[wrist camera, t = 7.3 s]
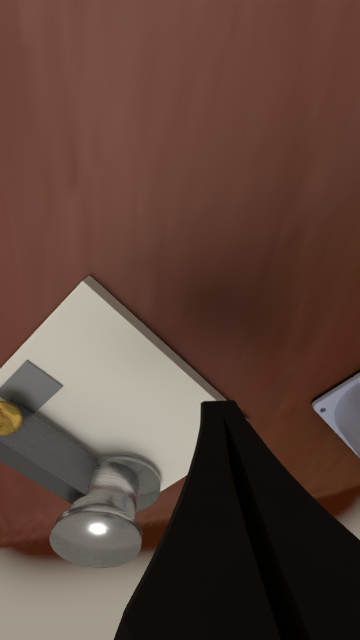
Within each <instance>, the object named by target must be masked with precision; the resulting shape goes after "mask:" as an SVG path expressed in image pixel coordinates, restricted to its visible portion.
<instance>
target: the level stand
mask: <svg viewBox="0 0 360 640" xmlns="http://www.w3.org/2000/svg"><path fill="white" fill-rule="evenodd" d="M11 399H12V400H14V401H15V402H17V403H18V404H20V405H21V406H23V407H24V408H25V409H27V410H28V411H30V412H31V413H33V414H34V415H35V416H37V417H38V418H40V419H41V420H43V421H44V422H45V423H47V424H48V425H50V426H51V427H53V428H54V429H55V430H57V431H58V432H60V433H61V434H63V435H64V436H66V437H67V438H68V439H70V440H71V441H73V442H74V443H76V444H77V445H78V446H80V447H81V448H83V449H84V450H86V451H87V452H88V453H90V454H91V455H93V456H94V457H98V456H102V455H128V456H133V457H137V458H139V459H142V460H144V461H146V462H148V463H149V464H150V465H152V466H153V467H154V468H155V469H156V470H157V472H158V474H159V476H160V479H161V488H160V492H161V491H162V490H164V489H166V488H167V487H169V486H170V485H172V484H173V483H175V482H177V481H178V480H180V479H181V478H183V477H184V476H186V475H187V474H188V471H189V468H190V465H191V461H192V458H193V454H194V451H195V447H196V443H197V438H198V433H199V428H200V410H201V403H202V402H203V401H227V400H226V399H225V398H224V397H223V396H222V395H221V394H220V393H219V392H217V391H216V390H215V389H214V388H213V387H212V386H211V385H210V384H209V383H208V382H206V381H205V380H204V379H203V378H202V377H201V376H200V375H199V374H198V373H197V372H196V371H194V370H193V369H192V368H191V367H190V366H189V365H188V364H187V363H186V362H185V361H183V360H182V359H181V358H180V357H179V356H178V355H177V354H176V353H175V352H174V351H172V350H171V349H170V348H169V347H168V346H167V345H166V344H165V343H164V342H163V341H162V340H160V339H159V338H158V337H157V336H156V335H155V334H154V333H153V332H152V331H151V330H149V329H148V328H147V327H146V326H145V325H144V324H143V323H142V322H141V321H140V320H138V319H137V318H136V317H135V316H134V315H133V314H132V313H131V312H130V311H129V310H128V309H126V308H125V307H124V306H123V305H122V304H121V303H120V302H119V301H118V300H117V299H115V298H114V297H113V296H112V295H111V294H110V293H109V292H108V291H107V290H106V289H105V288H103V287H102V286H101V285H100V284H99V283H98V282H97V281H96V280H95V279H94V278H92V277H91V276H88V277H87V278H86V279H84V280H83V281H82V282H81V283H80V284H79V285H78V286H77V287H76V288H75V289H74V290H73V292H72V293H71V294H70V295H69V296H68V297H67V298H66V299H65V300H64V301H63V302H62V303H61V304H60V305H59V307H58V308H57V309H56V310H55V311H54V312H53V313H52V314H51V315H50V316H49V317H48V318H47V319H46V320H45V322H44V323H43V324H42V325H41V326H40V327H39V328H38V329H37V330H36V331H35V332H34V333H33V334H32V335H31V337H30V338H29V339H28V340H27V341H26V342H25V343H24V344H23V345H22V346H21V347H20V348H19V349H18V350H17V352H16V353H15V354H14V355H13V356H12V357H11V358H10V359H9V360H8V361H7V362H6V363H5V364H4V366H3V367H2V368H1V369H0V401H7V402H8V401H9V400H11ZM246 419H247V418H246ZM247 420H248V419H247ZM248 422H249V421H248Z"/></svg>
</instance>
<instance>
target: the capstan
mask: <svg viewBox="0 0 360 640" xmlns="http://www.w3.org/2000/svg"><path fill="white" fill-rule="evenodd" d="M0 461H1V462H3V463H4V464H6V465H8V466H9V467H11V468H13V469H14V470H16V471H18V472H19V473H21V474H23V475H24V476H26V477H27V478H29V479H31V480H32V481H34V482H36V483H37V484H39V485H41V486H42V487H44V488H46V489H47V490H49V491H51V492H52V493H54V494H56V495H57V496H59V497H61V498H62V499H64V500H66V501H67V502H69V503H71V504H72V506H71V509H70V510H68V511H66V512H64V513H63V514H61V515H60V516H59V517H58V518H57V520H56V522H55V524H54V527H53V529H52V532H51V535H50V544H51V546H52V548H53V550H54V551H55V552H56V553H57V554H58V555H59V556H61V557H62V558H64V559H65V560H67V561H69V562H72V563H75V564H77V565H81V566H86V567H93V568H108V567H115V566H119V565H122V564H125V563H127V562H129V561H131V560H132V559H133V558H135V557H136V556H137V554H138V553H139V551H140V548H141V539H142V530H141V527H140V525H139V523H138V522H137V521H136V520H135V514H136V511H140V510H143V509H145V508H147V507H149V506H151V505H152V504H153V503H154V502H155V501H156V500H157V498H158V497H159V494H160V488H161V479H160V476H159V474H158V472H157V470H156V469H155V468H154V467H153V466H152V465H150V464H149V463H148V462H146V461H144V460H142V459H139V458H137V457H133V456H128V455H102V456H98V457H94V456H93V455H91V454H90V453H88V452H87V451H86V450H84V449H83V448H81V447H80V446H78V445H77V444H76V443H74V442H73V441H71V440H70V439H68V438H67V437H66V436H64V435H63V434H61V433H60V432H58V431H57V430H55V429H54V428H53V427H51V426H50V425H48V424H47V423H45V422H44V421H43V420H41V419H40V418H38V417H37V416H35V415H34V414H33V413H31V412H30V411H28V410H27V409H25V408H24V407H23V406H21V405H20V404H18V403H17V402H15V401H14V400H12V399H11V400H9V401H8V402H7V401H0Z"/></svg>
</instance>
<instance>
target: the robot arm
mask: <svg viewBox="0 0 360 640" xmlns="http://www.w3.org/2000/svg"><path fill="white" fill-rule="evenodd" d="M312 407H313V408H314V410H315V411H316V412H317V413H318V414H319V415H320V416H321V417H322V418H323V419H324V421H325V422H326V423H327V424H328V425H329V426H330V427H331V428H332V429H333V430H334V431H335V432H336V433H337V434H338V435H339V437H340V438H341V439H342V440H343V441H344V442H345V443H346V444H347V445H348V446H349V447H350V448H351V449H352V450H353V451H354V452H355V454H356V455H357V456H358V457H359V458H360V373H358V374H356V375H355V376H353V377H352V378H350V379H348V380H347V381H345V382H344V383H342V384H340V385H339V386H337V387H336V388H334V389H332V390H331V391H329V392H328V393H326V394H325V395H323V396H321V397H320V398H318V399H317V400H315V401H314V402H313V403H312ZM321 408H322V409H321ZM114 640H360V540H359V539H358V538H357V537H356V536H354V535H353V534H352V533H351V532H350V531H349V530H348V529H347V528H346V527H344V526H343V525H342V524H341V523H340V522H339V521H337V519H336V518H334V517H333V516H332V515H331V514H330V513H329V512H328V511H327V510H325V509H324V508H323V507H322V506H321V505H320V504H319V503H318V502H317V501H316V500H315V499H314V498H313V497H312V496H311V495H310V494H309V493H308V492H307V491H306V490H305V489H304V488H303V487H302V486H301V485H300V484H299V482H298V481H297V480H296V479H295V478H294V477H293V476H292V475H291V474H290V473H289V472H288V471H287V469H286V468H285V467H284V466H283V465H282V464H281V463H280V461H279V460H278V459H277V458H276V457H275V456H274V454H273V453H272V452H271V451H270V449H269V448H268V447H267V446H266V444H265V443H264V442H263V441H262V439H261V438H260V437H259V435H258V434H257V433H256V431H255V430H254V429H253V427H252V426H251V425H250V423H249V422H248V420H247V419H246V417H245V416H244V414H243V413H242V411H241V410H240V408H239V407H238V405H237V403H236V402H235V401H234V400H228V401H203V402H202V403H201V410H200V428H199V433H198V438H197V443H196V447H195V451H194V454H193V458H192V461H191V465H190V468H189V471H188V474H187V477H186V480H185V483H184V486H183V488H182V491H181V494H180V496H179V499H178V501H177V504H176V506H175V509H174V511H173V514H172V516H171V518H170V521H169V523H168V525H167V527H166V530H165V532H164V534H163V536H162V538H161V540H160V542H159V544H158V546H157V549H156V551H155V553H154V555H153V557H152V559H151V561H150V563H149V565H148V567H147V569H146V571H145V573H144V575H143V577H142V578H141V580H140V582H139V584H138V586H137V588H136V589H135V591H134V593H133V595H132V597H131V599H130V601H129V603H128V604H127V606H126V608H125V610H124V612H123V616H122V619H121V622H120V624H119V627H118V629H117V632H116V635H115V638H114Z"/></svg>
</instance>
